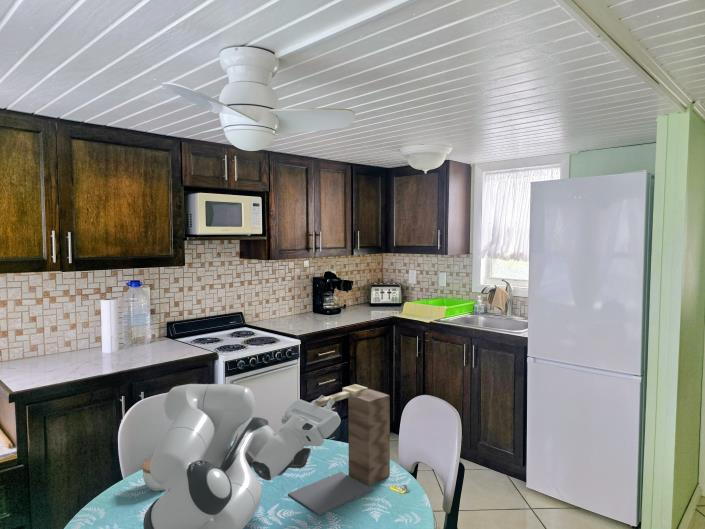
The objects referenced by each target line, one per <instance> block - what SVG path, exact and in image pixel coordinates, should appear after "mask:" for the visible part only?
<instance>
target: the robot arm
mask: <svg viewBox="0 0 705 529" xmlns="http://www.w3.org/2000/svg"><path fill="white" fill-rule="evenodd" d="M324 397H326V396H325V395H323V394H321V395H320V396H319V397H318V398H316V399H314V400H312V401H311V402H308V401H306V400H303V399H300V398H297V399H295V400H294V401H292V403H291V404H290V405H289V406H288V408H287V409H286V411H285V412H284V415H283V416H282V417H281V423H282V426H281V427H280V429H279V430H278V432H277V433H276V432H275V431H274V430H273V429H272V428H271V427H270V425H269V423H268V424H267V423H266V421H265V420H264V419H265V418H264V417H256V416H255V417H251V416H252V415H253V413H254V410H255V407H256V399H255V395H254V393H253V391H252V390H251V389H250V388H249V387H248V386H247V387H246V386H243V385H239V384H238V385H237V384H234V383H233V384H232V383H231V384H228V383H227V384H225V383H211V384H210V383H209V384H208V383H204V384H203V383H189V384H182V385H176V386H174V387H172V388H171V389H170V390H169V391H168V393H167V394H166V396H165V398H164V402H163V410H164V411H163V412H164V414H165V416H166V417H167V419H168V420H169V421H171V422H172V423H171V425H170V426H169V428H168V429H167V431H166V433H164V434H163V437H162V438H161V440H160V442H159V443H158V445H157V446H156V449H155V450H154V453H153V456H152V458H151V459H152V461H151V464H150V473H151V476H152V478H153V479H154V480H155V481H156V482H157V483H158V484H159V485H161V486H164V488H165V489H164V491H165V492H164V493H163V494H162V495H161V496H160V497H158V498H156V499H155V500H153V502H152V503H151V505H150V506H149V507H148V509H147V510H146V512H145V514H144V517H143V529H244V528H245V527H246V526H247V524H248V523H249V522H250V520H251V519H252V518H253V517H254V515H255V514H256V512H257V511H258V508H259V506H260V504H261V502H262V494H263V490H262V485H261V483H260V480H259V478H260V479H262V480H263V481H268V482H269V481H272V480H273V479H274V478H276V477H277V476H279V477H280V476H282V475H284V474H285V472H286V471H287V470H288V469H289V468H291V467H290V466H291V464H292V463H293V461H294V456H295V455H296V453H298V452H299V451H300V450H302V449H303V448H306V447H321V446H323V444H324V443H325V440H324V439H327V438H329V437H330V436H332V434H333V433H334V432H335V431H336V430H337V429H338V428H339V426H340V424H341V422H342V421H341V420H342V419H341V417H340V415H339V414H338V412H337V411H334V410H332V408H333V407H332V406H333V405H334V404H335V403H336V401H334V399H332V398H329V399H328V400H327V401H326V402H327V404H326V405H323V406H319V405H316V400H317V399H321V398H324ZM247 420H248V421H247ZM244 422H245V423H244ZM243 423H244V424H243ZM242 424H243V425H242ZM238 429H239V430H238ZM237 430H238V431H237ZM236 432H238V433H237V434H236ZM235 434H236V436H235ZM234 436H235V439H234V441H233V438H234ZM246 452H247V453H248V454H249V455H250V456H251V457H252V458H253V459H254V460H253V461H252V464H251V466H252V468H251V466H250V464H248V462H247V460H246V457H245V453H246ZM254 472H255V473H254ZM256 475H257V476H256ZM258 477H259V478H258Z"/></svg>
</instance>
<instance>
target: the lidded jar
mask: <svg viewBox="0 0 705 529" xmlns="http://www.w3.org/2000/svg"><path fill="white" fill-rule="evenodd" d="M151 461H152V458H150V459H148V460H146V461H145V462H143V464H142V466H141V469H142V478H143V482H144V484H145V485H146V486H147V487H148V488H149V489H150V490H151V491H153V492H160V491H165V488H164V486H161V485H159V484H158V483H157V482H156V481H155V480H154V479H153V478H152V476H151V473H150V464H151Z"/></svg>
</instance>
